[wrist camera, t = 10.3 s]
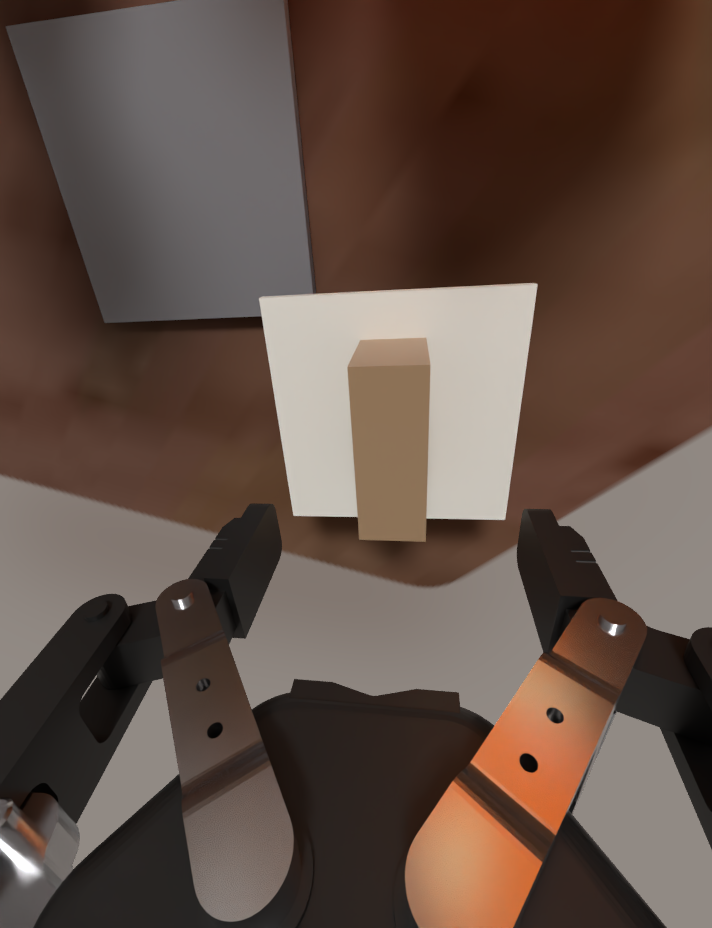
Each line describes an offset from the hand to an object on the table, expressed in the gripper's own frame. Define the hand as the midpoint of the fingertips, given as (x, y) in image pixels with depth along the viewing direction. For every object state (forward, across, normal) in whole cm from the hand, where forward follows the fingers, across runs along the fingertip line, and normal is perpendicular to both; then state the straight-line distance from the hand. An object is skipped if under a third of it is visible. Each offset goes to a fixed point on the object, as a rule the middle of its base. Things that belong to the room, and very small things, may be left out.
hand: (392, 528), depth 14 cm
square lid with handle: (+9, 0, 0) cm, 9 cm away
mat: (+14, +11, -11) cm, 21 cm away
